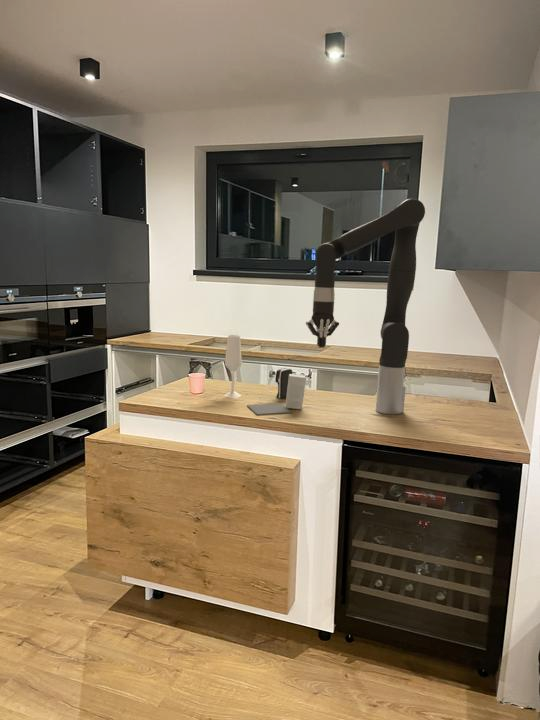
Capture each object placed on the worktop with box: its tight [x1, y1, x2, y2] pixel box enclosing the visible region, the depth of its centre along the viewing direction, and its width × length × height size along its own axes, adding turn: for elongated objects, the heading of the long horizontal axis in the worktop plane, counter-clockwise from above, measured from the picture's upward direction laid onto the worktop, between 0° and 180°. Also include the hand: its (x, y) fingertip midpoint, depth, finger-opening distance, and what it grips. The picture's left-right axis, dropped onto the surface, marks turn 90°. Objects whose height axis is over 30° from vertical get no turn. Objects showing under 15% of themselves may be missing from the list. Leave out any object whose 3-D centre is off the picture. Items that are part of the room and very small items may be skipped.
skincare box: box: [284, 373, 307, 410], centre depth 191 cm, size 6×4×12 cm
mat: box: [246, 402, 293, 416], centre depth 189 cm, size 13×12×1 cm
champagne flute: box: [224, 334, 243, 399], centre depth 205 cm, size 7×7×24 cm
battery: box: [275, 367, 293, 399], centre depth 207 cm, size 7×4×11 cm, turn 139°
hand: (321, 347), depth 192 cm, fingers closed
